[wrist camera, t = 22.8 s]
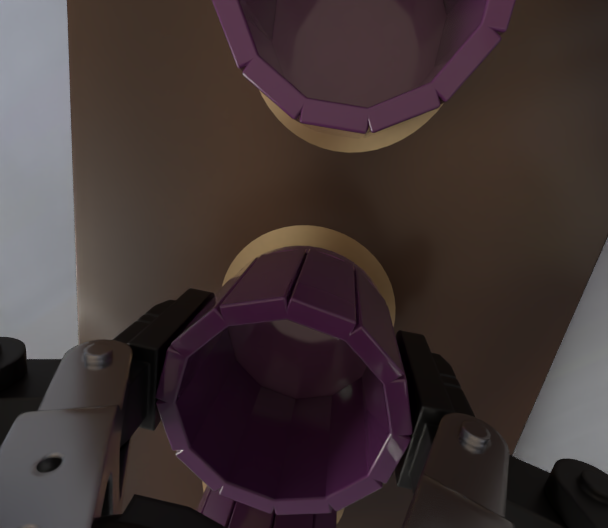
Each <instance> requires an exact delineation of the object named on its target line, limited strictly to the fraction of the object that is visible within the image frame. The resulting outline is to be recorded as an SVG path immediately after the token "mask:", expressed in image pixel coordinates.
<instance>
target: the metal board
mask: <svg viewBox="0 0 608 528" xmlns="http://www.w3.org/2000/svg"><path fill="white" fill-rule="evenodd" d="M67 14H68V44H69V73H70V103H71V133H72V162H73V192H74V222H75V251H76V281H77V311H78V341H79V344H82V343H85V342H89V341H94V340H113V339H114V338H115V337H117V336H118V335H119V334H120V333H121V332H123V331H124V330H125V329H126V328H128V327H129V326H130V325H131V324H133V323H134V322H135V321H138V319H139V318H140V317H141V316H142V315H144V314H146V312H147V311H149V310H150V309H151V308H152V307H153V306H155V305H156V304H159V303H162V302H165V301H167V300H170V299H171V300H177V299H178V298H179V297H180V296H181V295H182V294H184V293H185V292H186V291H187V290H188V289H189V288H193V289H198V290H203V291H208V292H213V293H214V295H215V294H216V293H217V292H218V291H219V290H220V289H221V288H222V287H223V285H224V284H225V283H226V282H227V281H229V280H230V279H231V278H232V277H233V276H235V275H236V274H237V273H238V272H239V271H240V270H241V269H242V268H243V267H244V266H245V265H246V264H247V263H249V262H250V261H251V260H253V259H254V258H256V257H258V256H260V255H261V254H263V253H266V252H268V251H271V250H274V249H277V248H282V247H287V246H313V247H319V248H323V249H327V250H330V251H333V252H335V253H338V254H340V255H342V256H344V257H346V258H347V259H349V260H351V261H352V262H354V263H355V264H356V265H358V266H359V267H360V268H361V269H363V270H364V271H365V272H366V273H367V274H368V276H369V277H370V278H371V279H372V280H373V282H374V283H375V284H376V286H377V287H378V289H379V291H380V293H381V295H382V296H383V298H384V299H385V301H386V305H387V306H388V308H389V312H390V316H391V320H392V324H393V328H394V332H395V336H396V334H397V332H398V331H399V330H402V331H407V332H412V333H417V334H422V335H424V336H425V338H426V341H427V343H428V346H429V348H430V351H431V353H436V354H440V355H441V356H442V357H443V358H444V359H445V360H446V361H447V362H448V363H449V364H450V365H451V366H452V369H453V371H454V373H455V375H456V379H458V381H459V383H460V385H461V389H462V390H463V392H464V394H465V396H466V398H467V400H468V402H469V404H470V406H471V409H472V411H473V413H474V415H475V417H476V418H478V419H480V420H482V421H484V422H485V423H487V424H489V425H490V426H491V427H493V428H494V429H495V430H496V431H497V432H498V433H499V434H500V435H501V436H502V437H503V438H504V440H505V441H506V443H507V445H508V448H509V454H510V455H511V456H512V454H513V452H514V450H515V447H516V445H517V443H518V440H519V438H520V436H521V434H522V431H523V429H524V427H525V424H526V422H527V420H528V418H529V415H530V413H531V411H532V408H533V406H534V404H535V402H536V399H537V397H538V395H539V392H540V390H541V388H542V386H543V383H544V381H545V379H546V377H547V374H548V372H549V370H550V367H551V365H552V363H553V361H554V358H555V356H556V354H557V351H558V349H559V347H560V345H561V342H562V340H563V338H564V335H565V333H566V331H567V329H568V326H569V324H570V322H571V319H572V317H573V315H574V313H575V310H576V308H577V306H578V303H579V301H580V299H581V297H582V294H583V292H584V290H585V288H586V285H587V283H588V281H589V278H590V276H591V274H592V272H593V269H594V267H595V265H596V262H597V260H598V258H599V256H600V253H601V251H602V249H603V246H604V244H605V242H606V240H607V237H608V0H516V2H515V5H514V9H513V12H512V16H511V19H510V22H509V26H508V29H507V31H506V32H505V33H503V34H502V35H501V38H502V39H501V41H500V43H499V44H498V45H497V46H496V47H495V48H494V50H493V51H492V52H491V53H490V54H489V55H488V56H487V58H486V59H485V60H484V61H483V62H482V63H481V64H480V65H479V67H478V68H477V69H476V70H475V71H474V72H473V73H472V75H471V76H470V77H469V78H468V79H467V80H466V81H465V82H464V84H463V85H462V86H461V87H460V88H459V89H458V90H457V92H456V93H455V94H454V95H453V96H452V97H451V98H450V100H449V101H447V102H445V103H443V104H441V105H440V107H439V108H437V109H435V110H433V111H431V112H429V113H426V114H424V115H422V116H420V117H418V118H415V119H413V120H411V121H409V122H406V123H404V124H401V125H399V126H396V127H394V128H391V129H388V130H386V131H384V132H381V133H378V134H376V135H373V136H370V137H368V138H363V137H361V138H360V139H355V138H349V137H340V136H335V135H331V134H326V133H320V132H316V131H314V130H312V129H309V128H308V127H306V126H304V125H302V124H300V123H299V122H297V121H295V120H293V119H292V118H291V117H290V116H288V115H287V114H286V113H285V112H284V111H283V110H282V109H280V108H279V107H278V106H277V105H276V104H275V103H274V102H272V101H271V100H270V99H269V98H268V97H267V96H266V95H264V94H263V93H262V92H261V91H260V90H259V89H258V88H256V87H255V86H254V85H253V84H252V83H251V82H250V81H248V80H247V79H246V78H245V77H244V76H243V74H242V72H243V71H241V70H240V69H239V68H238V67H237V66H236V63H235V60H234V58H233V55H232V53H231V50H230V47H229V45H228V42H227V39H226V37H225V34H224V32H223V29H222V26H221V24H220V21H219V18H218V16H217V13H216V11H215V8H214V5H213V3H212V0H67ZM176 452H177V451H173V450H172V449H171V446H170V443H169V440H168V437H167V435H166V432H165V429H164V426H163V423H162V420H161V422H160V423H159V424H158V426H157V427H156V429H155V430H154V431H152V430H148V429H143V428H139V427H138V428H137V430H136V431H135V432H134V434H133V435H132V436H131V449H130V456H129V463H128V470H127V477H126V484H125V491H124V498H123V504H122V511H121V514H123V512H124V510H125V509H126V507H127V506H128V504H129V502H130V501H131V499H132V497H133V496H134V494H137V495H141V496H145V497H150V498H154V499H158V500H162V501H167V502H171V503H175V504H179V505H184V506H188V507H191V508H192V509H194V510H197V508H198V506H199V503H200V501H201V498H202V496H203V494H204V491H205V489H206V486H207V485H206V484H205V483H204V482H203V481H202V480H201V479H200V478H199V477H198V476H197V475H196V474H195V473H193V472H192V471H191V470H190V469H189V468H188V467H187V466H186V465H185V464H184V463H183V462H182V461H181V460H180V459H179V458H178V457H177V456H176ZM412 497H413V491H412V490H411V489H406V488H402V487H397V484H396V477H395V470H394V472H393V474H392V476H391V477H390V479H389V481H388V483H386V484H384V483H383V487H382V488H381V489H379V490H377V491H375V492H374V493H372V494H370V495H368V496H366V497H364V498H362V499H360V500H358V501H356V502H355V503H353V504H351V505H349V506H347V507H345V508H343V509H341V510H339V511H337V528H402V525H403V522H404V519H405V517H406V514H407V511H408V508H409V506H410V503H411V500H412Z"/></svg>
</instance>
